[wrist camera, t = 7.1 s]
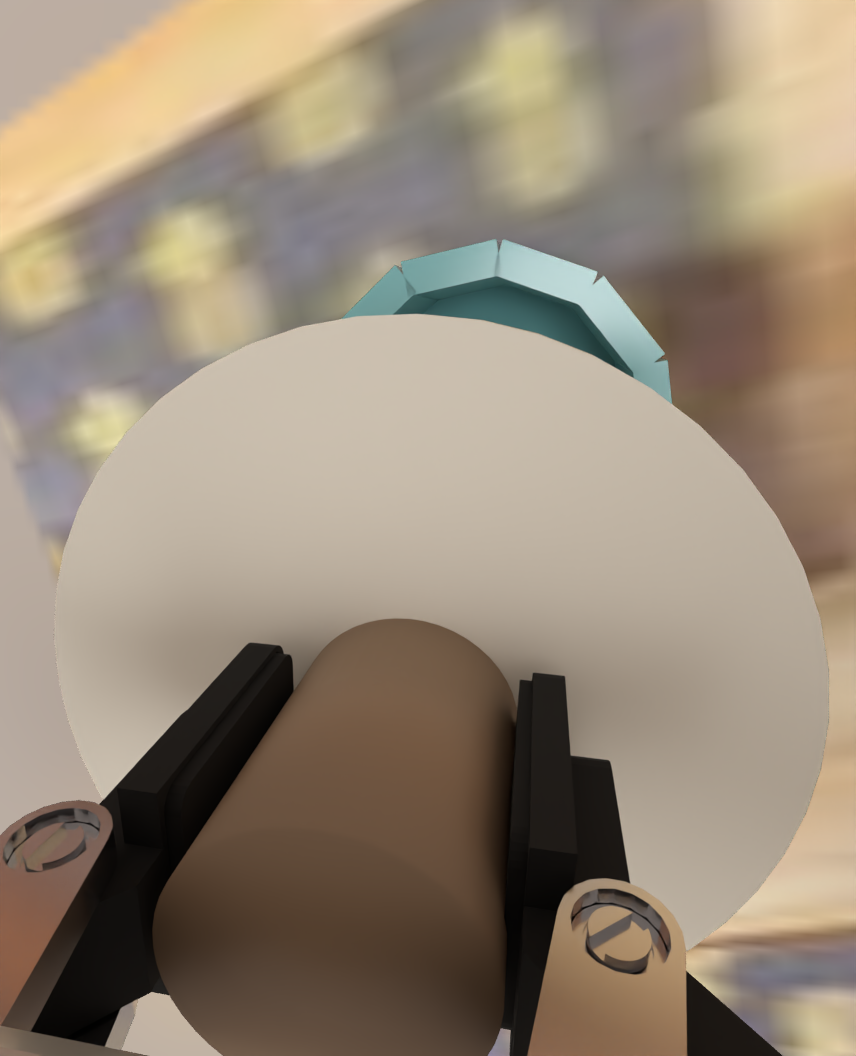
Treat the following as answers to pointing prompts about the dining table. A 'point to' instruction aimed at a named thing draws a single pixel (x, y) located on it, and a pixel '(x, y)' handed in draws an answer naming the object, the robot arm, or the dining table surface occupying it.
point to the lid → (431, 661)
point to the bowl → (524, 302)
